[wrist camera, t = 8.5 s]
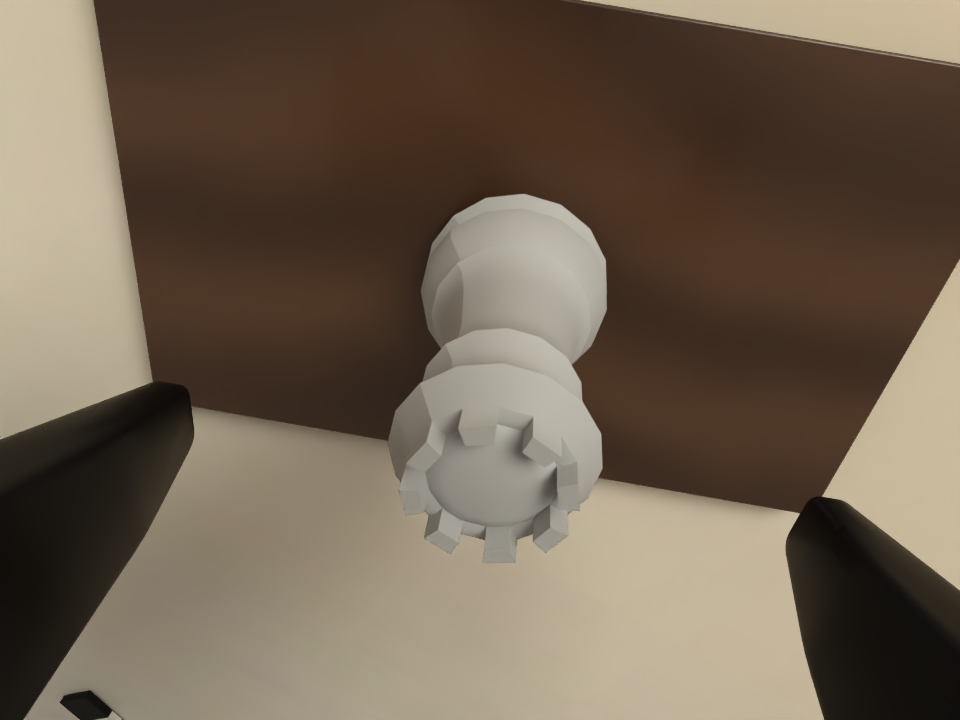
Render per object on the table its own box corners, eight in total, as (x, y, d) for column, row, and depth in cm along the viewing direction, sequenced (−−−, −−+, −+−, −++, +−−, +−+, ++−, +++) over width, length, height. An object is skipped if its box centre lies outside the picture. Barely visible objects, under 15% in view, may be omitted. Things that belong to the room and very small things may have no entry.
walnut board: (802, 497, 19) (811, 515, 18) (169, 386, 19) (154, 400, 18) (1037, 77, 13) (1064, 81, 12) (103, -80, 13) (78, -85, 12)
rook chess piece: (391, 264, 16) (265, 474, 9) (529, 147, 14) (509, 290, 7) (504, 383, 17) (474, 643, 10) (642, 290, 15) (720, 527, 8)
